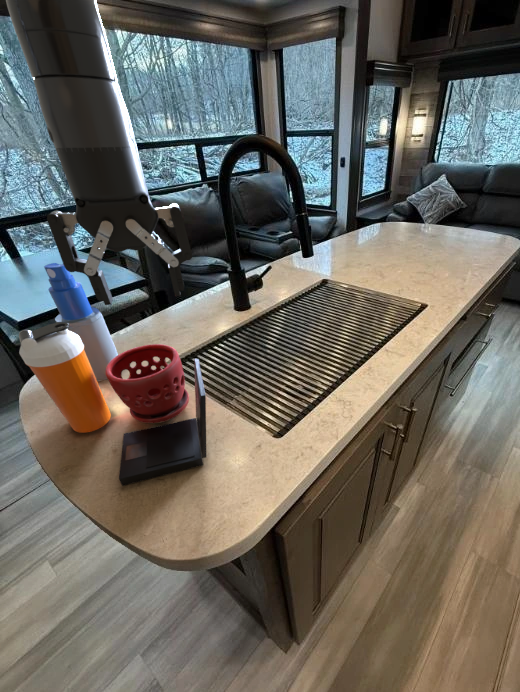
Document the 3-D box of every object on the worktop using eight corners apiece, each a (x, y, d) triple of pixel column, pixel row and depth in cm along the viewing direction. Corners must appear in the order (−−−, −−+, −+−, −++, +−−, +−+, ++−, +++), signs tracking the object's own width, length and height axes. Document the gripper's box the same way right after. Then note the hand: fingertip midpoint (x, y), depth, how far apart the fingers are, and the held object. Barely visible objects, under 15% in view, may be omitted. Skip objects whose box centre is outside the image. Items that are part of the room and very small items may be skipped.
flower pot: (169, 383, 76) (155, 336, 69) (205, 406, 70) (192, 357, 62) (114, 411, 68) (90, 362, 61) (148, 440, 62) (126, 389, 54)
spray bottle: (108, 382, 77) (58, 272, 61) (74, 379, 78) (16, 270, 62) (130, 362, 83) (89, 258, 68) (98, 359, 85) (51, 257, 69)
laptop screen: (200, 395, 48) (205, 395, 49) (193, 358, 57) (198, 358, 57) (201, 458, 56) (206, 457, 56) (195, 417, 64) (200, 417, 64)
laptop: (122, 486, 54) (118, 478, 53) (126, 440, 62) (123, 433, 61) (203, 465, 57) (201, 458, 56) (197, 424, 65) (195, 417, 64)
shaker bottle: (123, 419, 66) (81, 328, 54) (76, 443, 61) (17, 349, 49) (105, 401, 71) (62, 313, 59) (60, 421, 66) (2, 330, 54)
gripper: (168, 142, 38) (196, 282, 48) (25, 143, 35) (88, 295, 45) (170, 142, 33) (202, 301, 43) (1, 144, 29) (79, 317, 39)
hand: (144, 298), depth 44 cm, fingers open, 8 cm apart
